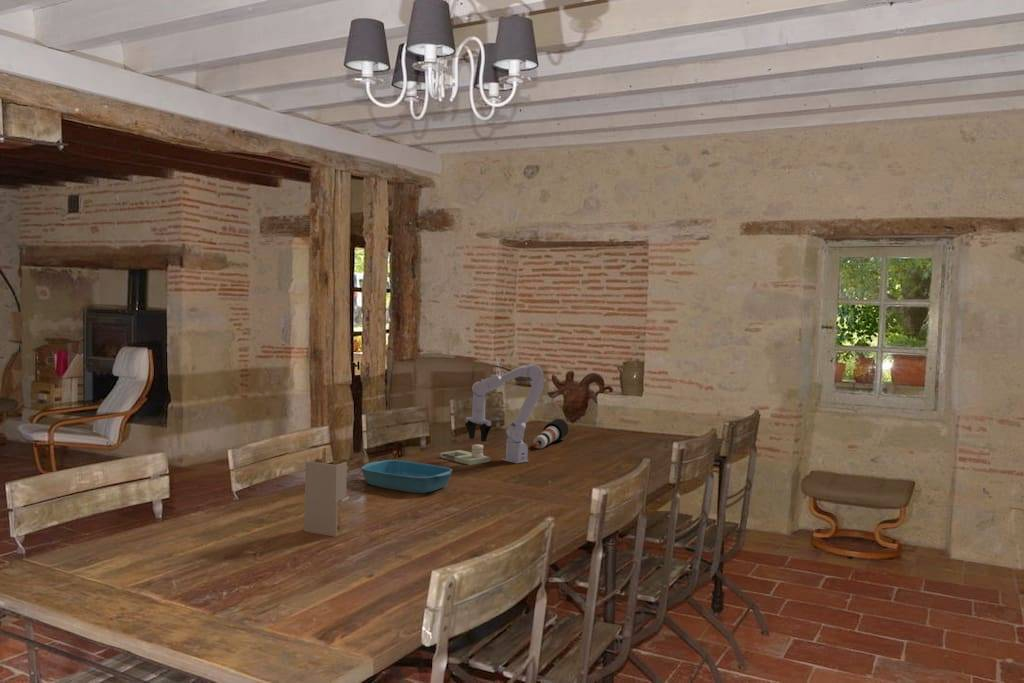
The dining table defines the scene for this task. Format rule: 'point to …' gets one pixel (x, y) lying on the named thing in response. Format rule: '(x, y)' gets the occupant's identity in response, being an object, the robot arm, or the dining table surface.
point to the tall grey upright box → (324, 495)
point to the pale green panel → (464, 457)
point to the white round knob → (477, 451)
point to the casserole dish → (406, 475)
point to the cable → (551, 433)
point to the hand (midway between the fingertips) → (477, 439)
